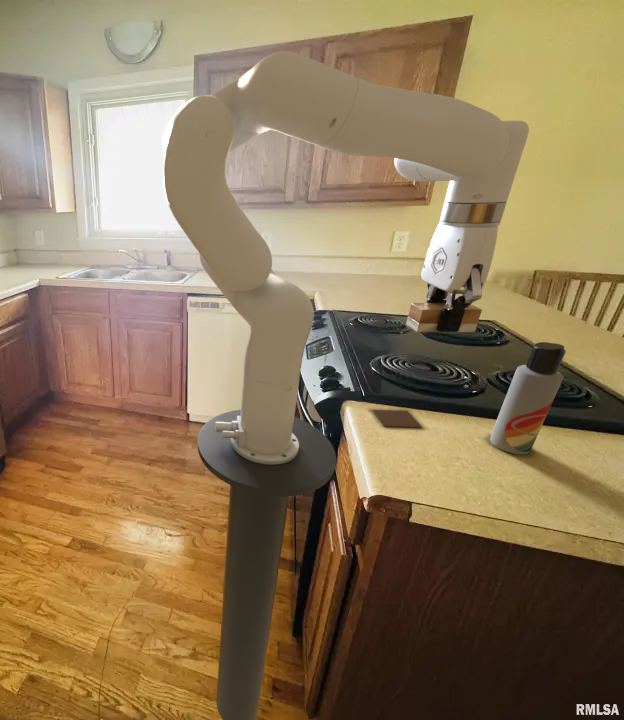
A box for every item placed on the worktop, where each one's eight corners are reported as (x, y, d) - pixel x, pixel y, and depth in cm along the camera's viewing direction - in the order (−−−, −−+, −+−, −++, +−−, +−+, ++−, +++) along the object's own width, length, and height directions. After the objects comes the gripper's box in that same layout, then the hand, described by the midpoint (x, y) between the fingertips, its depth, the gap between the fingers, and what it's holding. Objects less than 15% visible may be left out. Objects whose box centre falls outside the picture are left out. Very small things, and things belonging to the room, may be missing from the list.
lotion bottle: (533, 458, 68) (581, 353, 60) (491, 449, 71) (532, 347, 63) (526, 441, 73) (570, 341, 64) (486, 433, 76) (524, 336, 67)
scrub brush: (416, 332, 67) (422, 309, 66) (405, 324, 71) (411, 302, 69) (474, 332, 66) (482, 309, 64) (460, 324, 70) (467, 302, 68)
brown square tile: (383, 426, 79) (384, 425, 79) (371, 410, 84) (371, 409, 84) (421, 427, 78) (421, 426, 78) (406, 411, 83) (407, 410, 83)
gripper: (417, 211, 69) (394, 311, 76) (478, 220, 54) (442, 344, 61) (464, 209, 68) (436, 311, 75) (540, 218, 53) (495, 345, 60)
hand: (439, 325), depth 68 cm, fingers closed on scrub brush, 4 cm apart
